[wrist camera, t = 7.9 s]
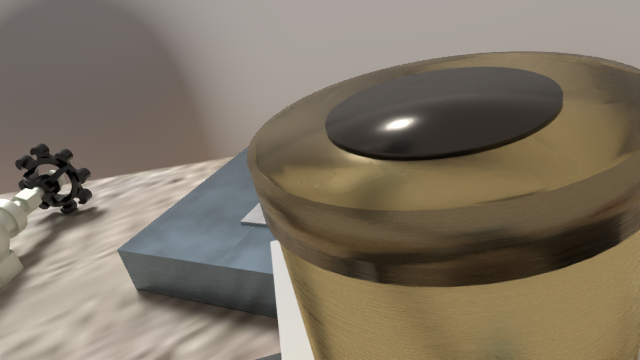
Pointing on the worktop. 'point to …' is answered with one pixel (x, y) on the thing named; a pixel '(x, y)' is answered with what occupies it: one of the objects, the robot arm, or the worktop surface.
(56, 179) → the valve
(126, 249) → the plate
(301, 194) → the brass bushing
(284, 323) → the robot arm
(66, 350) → the worktop surface
